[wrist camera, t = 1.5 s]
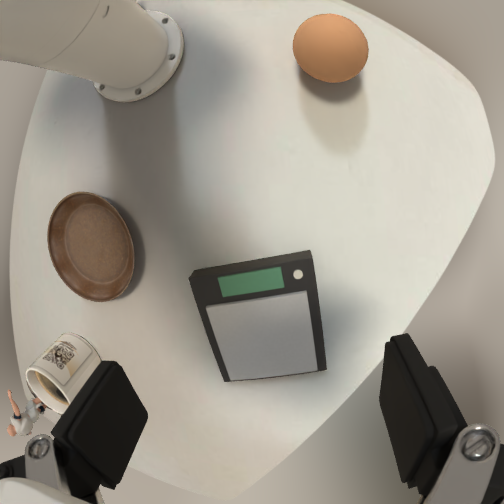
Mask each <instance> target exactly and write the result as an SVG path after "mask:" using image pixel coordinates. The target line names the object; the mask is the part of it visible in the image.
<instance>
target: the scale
mask: <svg viewBox="0 0 504 504" xmlns="http://www.w3.org/2000/svg"><path fill="white" fill-rule="evenodd" d="M189 282H190V285H191V288H192V291H193V294H194V297H195V300H196V303H197V307H198V310H199V313H200V316H201V318H202V321H203V324H204V327H205V330H206V333H207V336H208V339H209V342H210V344H211V347H212V350H213V353H214V355H215V358H216V361H217V364H218V366H219V369H220V372H221V374H222V377H223V380H224V382H230V381H243V380H255V379H265V378H274V377H282V376H290V375H297V374H304V373H311V372H317V371H323V370H327V367H326V357H325V348H324V339H323V331H322V322H321V315H320V307H319V299H318V292H317V285H316V278H315V272H314V265H313V259H312V255H311V251H310V250H307V251H302V252H296V253H291V254H285V255H279V256H274V257H268V258H262V259H257V260H251V261H245V262H240V263H234V264H228V265H222V266H217V267H211V268H205V269H199V270H194V271H193V273H192V274H191V276H190V277H189Z"/></svg>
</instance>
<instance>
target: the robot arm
mask: <svg viewBox="0 0 504 504" xmlns="http://www.w3.org/2000/svg"><path fill="white" fill-rule="evenodd" d="M183 48H184V40H183V34H182V31H181V29H180V27H179V26H178V24H177V23H176V22H175V21H174V20H173V19H172V18H171V17H170V16H168V15H166V14H164V13H161V12H158V11H145V10H144V9H142V8H141V7H140V5H139V4H138V3H137V2H136V0H0V60H3V61H10V62H17V63H22V64H27V65H31V66H36V67H40V68H45V69H49V70H53V71H57V72H61V73H65V74H69V75H73V76H77V77H80V78H84V79H87V80H91V81H92V82H93V84H94V86H95V88H96V89H97V91H98V92H99V93H100V94H101V95H103V96H104V97H105V98H108V99H110V100H113V101H118V102H131V101H137V100H140V99H142V98H145V97H147V96H149V95H151V94H152V93H154V92H155V91H157V90H158V89H159V88H161V87H162V86H163V85H164V84H165V83H166V82H167V81H168V80H169V79H170V77H171V76H172V75H173V73H174V72H175V70H176V69H177V67H178V65H179V63H180V60H181V57H182V54H183ZM174 57H175V59H174V60H173V58H174ZM140 92H141V93H140ZM379 401H380V406H381V410H382V413H383V416H384V420H385V423H386V426H387V430H388V433H389V437H390V440H391V444H392V447H393V451H394V455H395V458H396V462H397V466H398V470H399V473H400V478H401V481H402V482H403V483H405V482H407V484H408V488H409V489H410V488H413V487H416V486H417V487H418V491H419V494H421V497H420V498H419V500H418V502H417V503H416V504H504V445H503V444H500V438H499V435H498V433H497V432H496V430H495V429H493V428H492V427H491V426H488V425H486V424H473V425H470V426H468V425H467V423H466V421H465V419H464V417H463V416H462V414H461V412H460V410H459V408H458V406H457V404H456V402H455V401H454V399H453V397H452V395H451V393H450V391H449V389H448V387H447V386H446V384H445V382H444V380H443V378H442V377H441V375H440V373H439V372H438V370H437V369H436V367H434V366H430V367H428V366H427V364H426V363H425V361H424V359H423V357H422V356H421V354H420V352H419V351H418V349H417V347H416V345H415V344H414V342H413V340H412V339H411V337H410V335H409V334H408V333H406V334H401V335H397V336H392V337H391V338H390V342H386V344H385V352H384V363H383V373H382V380H381V389H380V396H379ZM147 419H148V413H147V411H146V409H145V407H144V406H143V404H142V402H141V401H140V399H139V397H138V395H137V394H136V392H135V390H134V388H133V387H132V385H131V383H130V381H129V379H128V377H127V376H126V374H125V372H124V370H123V368H122V367H121V366H120V365H119V364H118V363H117V362H116V361H101V362H100V363H99V365H98V366H97V367H96V369H95V370H94V371H93V373H92V374H91V376H90V377H89V378H88V380H87V381H86V382H85V384H84V385H83V387H82V388H81V389H80V391H79V392H78V394H77V395H76V396H75V398H74V399H73V401H72V402H71V403H70V405H69V406H68V408H67V409H66V411H65V412H64V413H63V415H62V416H61V418H60V419H59V421H58V422H57V424H56V425H55V427H54V428H53V430H52V431H51V434H52V435H53V436H54V437H55V438H54V440H52V439H51V437H50V436H48V435H45V434H41V435H37V436H35V437H33V438H32V439H31V440H30V441H29V442H28V443H27V445H26V448H25V455H23V456H20V457H17V458H14V459H12V460H9V461H6V462H3V463H1V464H0V504H104V501H103V498H102V495H101V492H100V490H99V485H100V484H101V485H102V486H104V487H107V488H110V489H113V490H114V489H115V487H116V485H117V484H119V483H120V481H121V479H122V477H123V474H124V472H125V470H126V467H127V465H128V463H129V461H130V458H131V456H132V454H133V451H134V449H135V447H136V444H137V442H138V440H139V438H140V435H141V433H142V431H143V429H144V426H145V424H146V422H147Z"/></svg>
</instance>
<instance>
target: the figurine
mask: <svg viewBox="0 0 504 504" xmlns="http://www.w3.org/2000/svg"><path fill="white" fill-rule="evenodd" d="M27 385H28V387H29V389H30V391H31V393H32V394H33V395H34V397H35V399H33V398H31V400H30V401H29V402H28V403H27V405H26V411H25V412H24V413H21V414H20V411H19V408H18V406H17V405H16V403H15V402H14V401H13V400H12V396H11V391H10V390H8V395H9V399H10V401H11V404H12V407H13V410H14V416H12V417H11V422H12V424H13V425H14V426H13V425H11V424H10V425H9V427H8V428H7V430H8V433H9V435H11V436H15V434H19V435H21V436H25V435H31V433H32V432H31V430H32V428H33V423H35V422H36V421H37V420H38V418H39V413H40V414H44V411H45V408H46V407H47V408H49V407H48V406H47V405H46V404H44V403H43V402H42V401H41V400H40V399H39V398H38V397H37V396H36V394H35V393H34V392H33V390H32V389H31V387H30V386H29V384H28V382H27ZM9 391H10V392H9ZM49 409H51V408H49ZM51 410H52V409H51Z"/></svg>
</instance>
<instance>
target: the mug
mask: <svg viewBox="0 0 504 504" xmlns="http://www.w3.org/2000/svg"><path fill="white" fill-rule="evenodd" d="M100 362H101V360H100V358H99V356H98V354H97V352H96V351H95V350H94V348H93V347H92V346H91V345H90V344H89V343H88V342H87V341H86V340H85V339H83V338H82V337H80V336H78V335H76V334H74V333H64V334H62V335H61V336H60V337H59V338H58V339H57V340H56V341H55V342H54V343H53V344H52V345H51V346H50V347H49V348H48V349H47V350H46V351H45V352H44V353H43V354H42V355H41V356H40V357H39V358H38V359H37V360H36V361H35V362H34V363H33V364H32V365H31V366H30V367H29V368H28V369H27V370H26V379H27V382H28V384H29V386H30V387H31V389H32V390H33V392H34V393H35V394H36V396H37V397H38V398H39V399H40V400H41V401H42V402H43V403H44V404H46V405H47V406H48V407H49V408H51V409H52V410H54V411H56V412H58V413H60V414H63V413H64V412H65V411H66V409H67V408H68V406H69V405H70V403H71V402H72V401H73V399H74V398H75V396H76V395H77V394H78V392H79V391H80V389H81V388H82V387H83V385H84V384H85V382H86V381H87V380H88V378H89V377H90V376H91V374H92V373H93V371H94V370H95V369H96V367H97V366H98V365H99V363H100Z"/></svg>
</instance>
